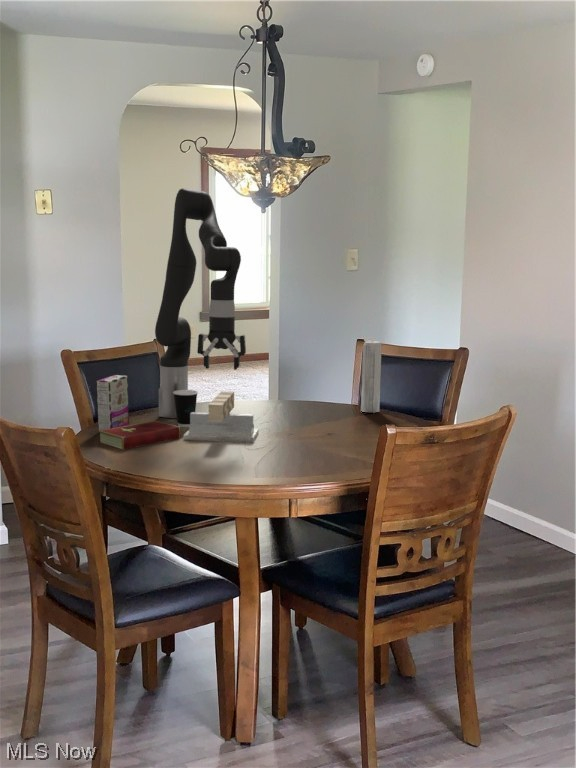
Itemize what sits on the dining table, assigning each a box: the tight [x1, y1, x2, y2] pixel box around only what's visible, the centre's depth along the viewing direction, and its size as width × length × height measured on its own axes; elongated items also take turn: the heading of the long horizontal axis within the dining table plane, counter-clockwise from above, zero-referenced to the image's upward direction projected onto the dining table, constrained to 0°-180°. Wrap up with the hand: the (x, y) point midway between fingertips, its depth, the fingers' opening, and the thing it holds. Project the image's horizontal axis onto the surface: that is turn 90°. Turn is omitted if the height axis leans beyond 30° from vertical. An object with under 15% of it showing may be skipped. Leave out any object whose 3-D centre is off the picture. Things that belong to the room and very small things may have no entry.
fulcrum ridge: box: [183, 411, 259, 444], centre depth 256 cm, size 21×12×7 cm, turn 85°
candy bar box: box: [96, 374, 130, 431], centre depth 262 cm, size 11×5×16 cm, turn 161°
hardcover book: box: [97, 420, 181, 451], centre depth 250 cm, size 12×21×4 cm, turn 137°
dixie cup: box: [173, 389, 199, 428], centre depth 269 cm, size 8×8×11 cm
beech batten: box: [208, 390, 235, 422], centre depth 255 cm, size 22×4×5 cm, turn 175°
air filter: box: [360, 340, 382, 413], centre depth 294 cm, size 6×6×25 cm
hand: (221, 368), depth 253 cm, fingers open, 8 cm apart
